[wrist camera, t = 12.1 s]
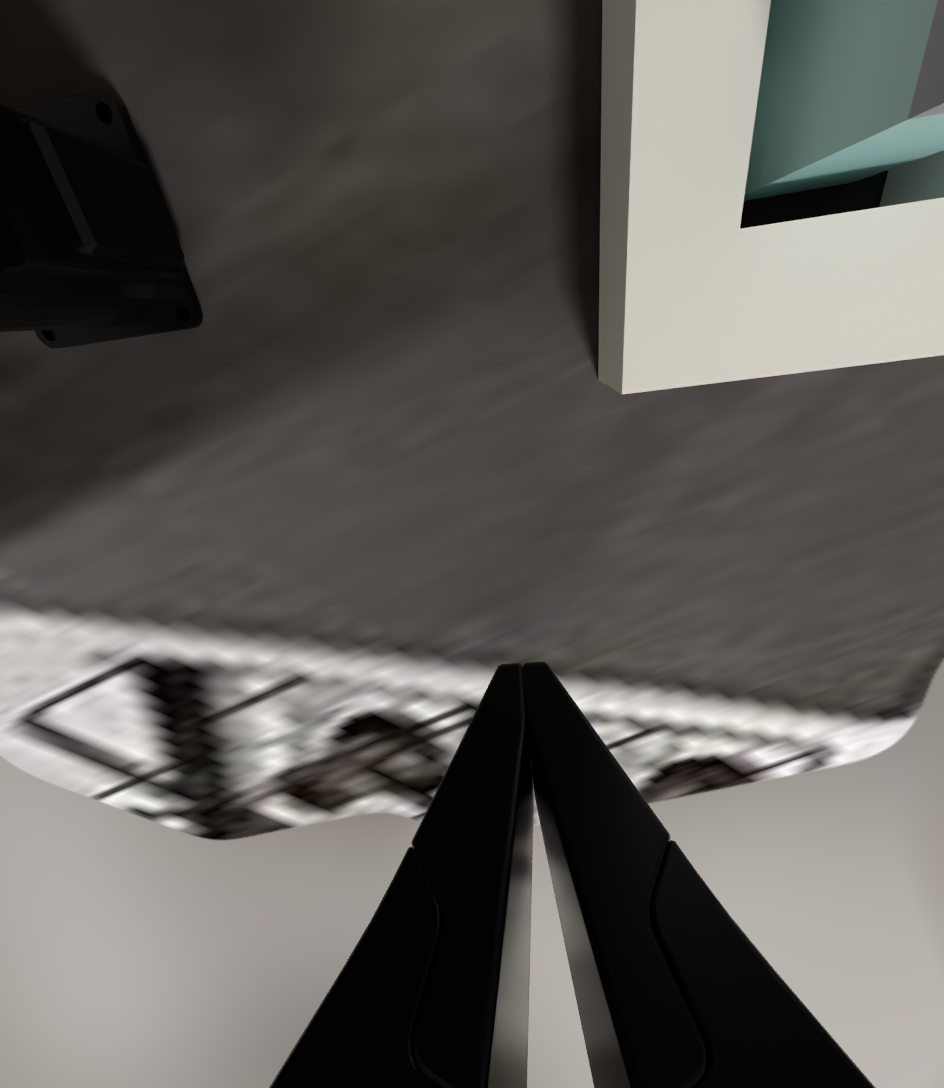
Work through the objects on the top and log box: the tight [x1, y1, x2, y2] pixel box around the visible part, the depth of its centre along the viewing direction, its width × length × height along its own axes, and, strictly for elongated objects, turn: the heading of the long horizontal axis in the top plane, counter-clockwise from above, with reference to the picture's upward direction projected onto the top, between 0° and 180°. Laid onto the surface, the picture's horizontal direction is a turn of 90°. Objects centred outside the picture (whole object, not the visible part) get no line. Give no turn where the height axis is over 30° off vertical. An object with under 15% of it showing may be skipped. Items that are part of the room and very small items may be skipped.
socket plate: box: [598, 0, 944, 394], centre depth 11 cm, size 12×14×4 cm
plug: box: [744, 0, 944, 201], centre depth 10 cm, size 4×4×8 cm
